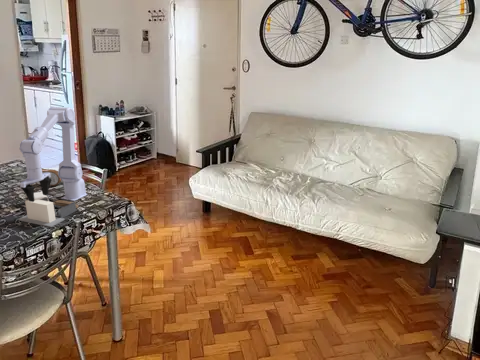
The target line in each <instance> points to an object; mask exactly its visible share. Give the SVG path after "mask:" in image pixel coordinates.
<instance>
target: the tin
mask: <svg viewBox="0 0 480 360" xmlns="http://www.w3.org/2000/svg"><path fill="white" fill-rule="evenodd" d="M46 172H48V173H50V175H51V177H50V178H51V180H52V181H51V183H50V186H51V187H52V186H53V187H55V186H58V185H59V184H60V183H62V179H60V178H59V176H58V170H56V169H49V168H42V174H43V173H46ZM35 184H36V185H38V186H41V185H40V182H39V181H38V182H36V183H35ZM50 186H49V187H50Z"/></svg>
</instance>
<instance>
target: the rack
mask: <svg viewBox="0 0 480 360" xmlns="http://www.w3.org/2000/svg"><path fill="white" fill-rule="evenodd" d="M40 200H44V201H48V198H47V197H44V198H42V199H40ZM72 202H73V203H71V204H69V205H67V206H65V207H64V206H59V205H54V204H53V205H54V209H58V210H57V212H58V214H56V213H55V217H58V218H63V219H65V217H68V216H70V215H72V214H74V213H75V212H77V208H76V205H77V203H76V202H75V201H72ZM75 203H76V204H75Z"/></svg>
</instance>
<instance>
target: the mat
mask: <svg viewBox="0 0 480 360" xmlns="http://www.w3.org/2000/svg"><path fill="white" fill-rule="evenodd" d="M55 218H56V220H54V221H52V222H50V223H48V222H43V221H38V220H33V219H29V218H28V216H27V214H26V215H24V216H22V217H20V218H18V220H17V221H21V222H25V223H30V224H33V225H39V226H44V227H48V228H52V227H55V226H56V225H57V224H60V223H62V222H63V221H65V220H66V218H58V217H55Z"/></svg>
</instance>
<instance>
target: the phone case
mask: <svg viewBox="0 0 480 360" xmlns="http://www.w3.org/2000/svg"><path fill="white" fill-rule="evenodd" d="M44 197H47V198H48V201H49V202H51V201H50V197H49V194H48V195H47V196H46V195H43V193H42V190H40V191H34V199H38V200H40V199H42V198H44ZM27 200H29V199H28V198H27Z"/></svg>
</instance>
